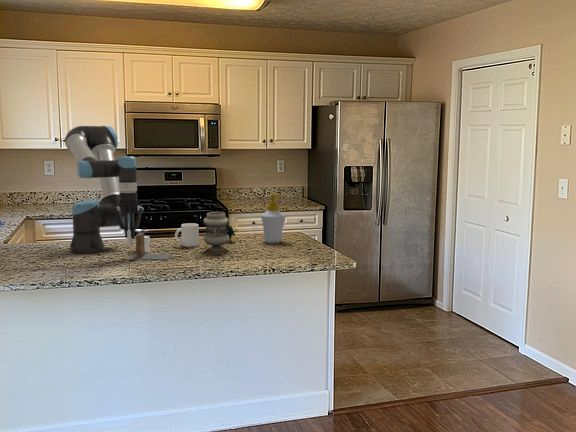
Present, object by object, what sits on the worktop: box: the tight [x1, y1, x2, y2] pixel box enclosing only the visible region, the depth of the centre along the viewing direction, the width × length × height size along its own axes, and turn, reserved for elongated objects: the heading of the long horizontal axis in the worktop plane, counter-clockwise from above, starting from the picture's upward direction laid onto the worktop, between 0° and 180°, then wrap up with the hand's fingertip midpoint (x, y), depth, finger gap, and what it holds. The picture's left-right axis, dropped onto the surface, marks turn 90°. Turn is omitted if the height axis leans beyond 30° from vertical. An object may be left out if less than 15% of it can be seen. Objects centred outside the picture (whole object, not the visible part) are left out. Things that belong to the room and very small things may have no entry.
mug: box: [174, 222, 200, 248], centre depth 278 cm, size 12×8×10 cm
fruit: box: [226, 223, 238, 241], centre depth 288 cm, size 10×11×15 cm
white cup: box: [134, 235, 151, 253], centre depth 264 cm, size 7×7×7 cm
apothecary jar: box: [203, 211, 230, 254], centre depth 266 cm, size 12×12×18 cm
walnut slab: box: [135, 232, 146, 258], centre depth 252 cm, size 2×6×10 cm, turn 0°
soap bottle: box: [260, 193, 287, 244], centre depth 288 cm, size 13×13×25 cm
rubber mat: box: [130, 253, 173, 261], centre depth 253 cm, size 16×10×1 cm, turn 90°
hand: (130, 244), depth 251 cm, fingers closed
